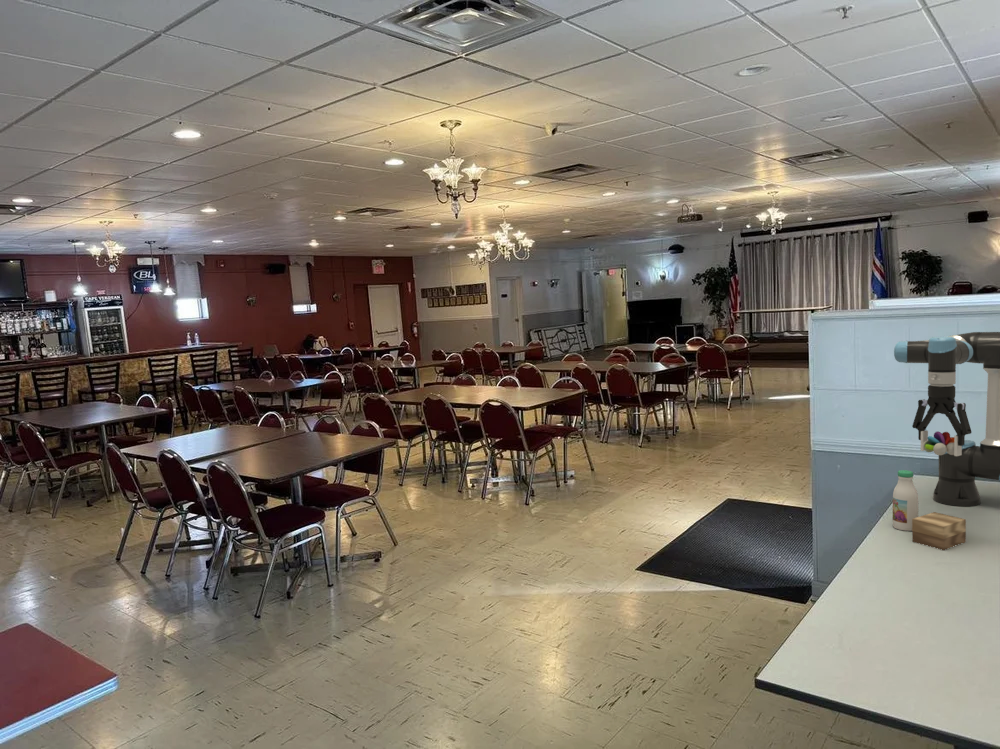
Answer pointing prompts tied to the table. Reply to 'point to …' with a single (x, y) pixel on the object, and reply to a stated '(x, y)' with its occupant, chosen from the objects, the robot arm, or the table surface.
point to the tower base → (938, 540)
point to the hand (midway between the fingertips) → (940, 452)
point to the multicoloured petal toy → (940, 443)
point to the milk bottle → (904, 501)
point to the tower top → (939, 525)
